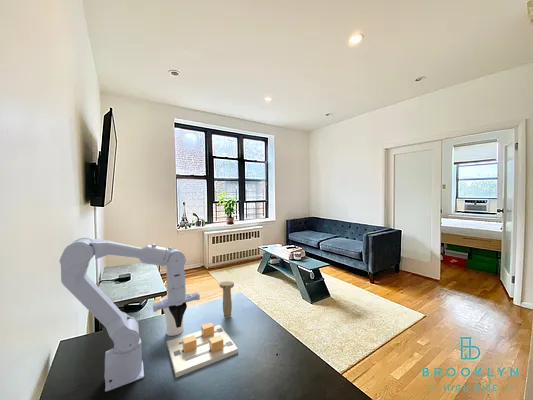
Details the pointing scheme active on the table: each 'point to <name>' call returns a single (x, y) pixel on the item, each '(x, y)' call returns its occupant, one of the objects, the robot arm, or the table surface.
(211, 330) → the tab far
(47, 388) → the table surface
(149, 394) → the table surface
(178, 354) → the switch board
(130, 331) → the robot arm
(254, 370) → the table surface
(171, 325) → the cup
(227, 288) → the handle
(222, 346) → the orange block
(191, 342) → the tab middle
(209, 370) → the table surface
